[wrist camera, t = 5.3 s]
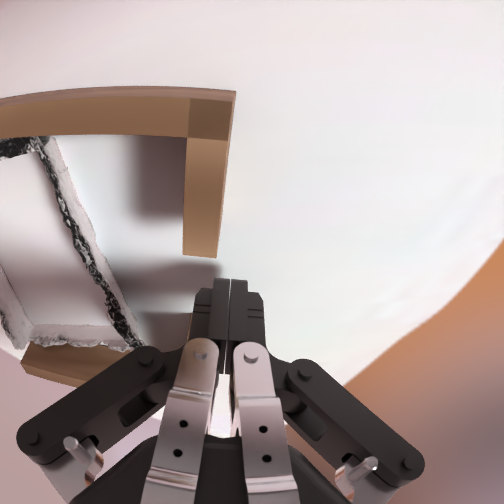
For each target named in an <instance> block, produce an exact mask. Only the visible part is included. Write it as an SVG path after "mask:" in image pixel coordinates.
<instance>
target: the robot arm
mask: <svg viewBox="0 0 504 504" xmlns="http://www.w3.org/2000/svg"><path fill="white" fill-rule="evenodd" d="M229 290H230V298H229ZM225 352H226V361H225ZM224 362H225V374H230V384H229V405H230V421H231V437H229V438H218V437H215V436H212V435H210V428H211V421H212V414H213V407H214V401H215V394H216V388H217V386H218V381H219V374H223V372H224ZM165 404H166V405H165ZM164 405H165V409H164V413H163V417H162V421H161V425H160V430H159V434H158V435H156V436H153V437H151V438H148V439H147V440H145V441H143V442H142V443H140V444H139V445H138V446H137V447H135V448H134V449H133V450H132V451H131V452H130V453H128V454H127V455H126V456H125V457H124V458H122V459H121V460H120V461H119V462H118V463H116V464H115V465H114V466H113V467H112V468H110V469H109V470H108V471H107V472H105V473H104V474H103V475H102V476H101V477H99V478H98V479H97V480H95V481H94V479H95V477H96V475H97V474H98V473H99V472H100V471H101V469H102V468H103V464H104V460H103V456H102V454H103V453H104V452H105V451H107V450H108V449H109V448H111V447H112V446H113V445H114V444H116V443H117V442H118V441H120V440H121V439H122V438H124V437H125V436H126V435H127V434H129V433H130V432H132V431H133V430H134V429H135V428H137V427H138V426H139V425H141V424H142V423H143V422H144V421H146V420H147V419H148V418H149V417H151V416H152V415H153V414H154V413H156V412H157V411H158V410H159V409H161V408H162V407H163V406H164ZM284 420H285V421H286V422H287V423H288V424H289V425H290V426H291V427H292V428H293V429H294V430H295V431H296V432H297V433H298V434H299V435H300V436H301V437H302V438H303V439H304V440H305V441H306V442H307V443H308V444H309V445H310V446H311V447H312V448H314V450H316V451H317V452H318V453H319V454H320V455H321V456H322V457H323V458H324V459H325V460H326V461H327V462H328V463H329V464H331V465H332V466H333V467H334V468H335V469H336V470H337V471H336V474H335V482H336V485H337V486H338V487H339V488H340V490H341V491H342V493H340V492H339V491H338V490H337V489H336V488H335V487H334V486H333V485H332V484H331V483H330V482H329V481H328V480H327V479H326V478H325V477H324V476H323V475H322V474H321V473H320V472H319V471H318V470H317V469H316V468H315V467H314V466H313V465H312V464H311V463H310V462H309V461H308V459H307V458H306V457H305V456H304V455H303V454H302V453H300V452H299V451H298V450H297V449H295V448H293V447H292V446H290V445H288V444H287V438H286V431H285V425H284ZM16 440H17V444H18V446H19V448H20V450H21V451H22V452H23V453H25V454H26V455H27V456H28V457H29V458H30V459H31V460H32V461H33V462H34V463H36V464H37V465H38V466H40V468H41V469H42V470H43V472H44V473H45V475H46V476H47V478H48V479H49V480H50V482H51V483H52V484H53V486H54V487H55V489H56V490H57V491H58V493H59V494H60V495H61V496H62V498H63V499H64V500H65V502H66V503H67V504H386V503H387V502H388V500H389V499H390V498H391V497H392V496H393V495H394V494H395V492H396V491H397V490H398V489H399V488H401V487H403V486H404V485H406V484H408V483H410V482H411V481H413V480H415V479H416V478H418V477H419V476H420V475H421V474H422V472H423V470H424V467H425V462H424V458H423V456H422V455H421V453H420V452H419V451H418V450H416V449H415V448H414V447H413V446H412V445H411V444H409V443H408V442H407V441H406V440H404V439H403V438H402V437H401V436H400V435H398V434H397V433H396V432H395V431H394V430H392V429H391V428H390V427H389V426H388V425H387V424H385V423H384V422H383V421H382V420H381V419H380V418H378V417H377V416H376V415H375V414H374V413H372V412H371V411H370V410H369V409H368V408H367V407H365V406H364V405H363V404H362V403H361V402H360V401H359V400H357V399H356V398H355V397H354V396H353V395H352V394H351V393H349V392H348V391H347V390H346V389H345V388H344V387H343V386H341V385H340V384H339V383H338V382H337V381H336V380H335V379H333V378H332V377H331V376H330V375H329V374H328V373H327V372H326V371H324V370H323V369H322V368H321V367H320V366H319V365H318V364H317V363H315V362H313V361H311V360H308V359H298V360H295V361H293V362H292V363H288V362H285V361H282V360H279V359H277V358H275V357H274V356H272V355H271V354H270V353H269V351H268V350H267V348H266V342H265V324H264V307H263V300H262V298H261V297H260V295H259V293H256V292H248V282H247V280H236V279H231V288H230V279H224V278H214V284H213V289H209V288H201V289H200V291H199V292H198V293H197V294H196V297H195V302H194V308H193V314H192V320H191V326H190V332H189V338H188V341H187V343H186V344H185V345H184V346H183V347H182V348H181V349H179V350H176V351H173V352H167V353H161V352H160V351H159V350H158V349H157V348H155V347H152V346H141V347H138V348H136V349H134V350H133V351H131V352H130V353H128V354H127V355H125V356H124V357H122V358H121V359H119V360H118V361H117V362H115V363H114V364H112V365H111V366H109V367H108V368H106V369H105V370H103V371H102V372H100V373H99V374H97V375H96V376H94V377H93V378H91V379H90V380H88V381H87V382H85V383H84V384H83V385H81V386H80V387H78V388H77V389H75V390H74V391H72V392H71V393H69V394H68V395H66V396H65V397H63V398H62V399H60V400H59V401H57V402H56V403H54V404H53V405H51V406H50V407H48V408H47V409H45V410H44V411H42V412H41V413H39V414H38V415H36V416H35V417H33V418H32V419H30V420H29V421H27V422H25V423H24V424H23V425H22V426H21V427H20V428H19V429H18V432H17V436H16Z"/></svg>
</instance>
